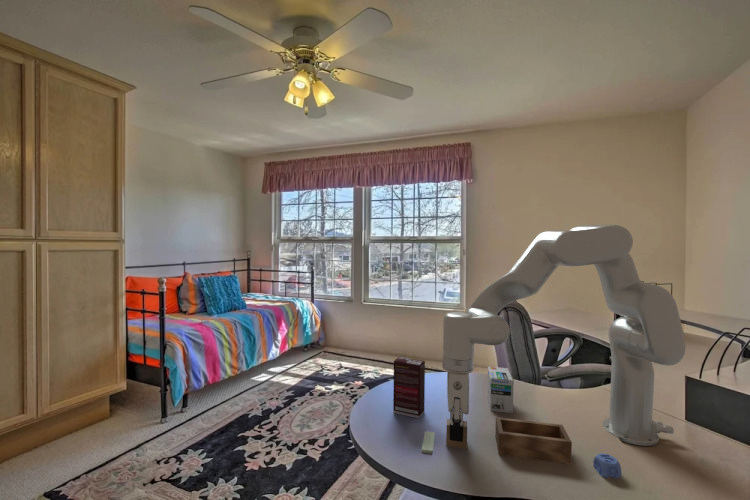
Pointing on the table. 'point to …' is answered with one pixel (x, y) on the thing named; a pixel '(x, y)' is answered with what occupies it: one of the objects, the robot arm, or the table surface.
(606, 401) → the table surface
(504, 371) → the light bulb box
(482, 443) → the table surface
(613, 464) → the decorative dice
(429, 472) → the table surface
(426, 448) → the lid
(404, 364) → the supplement box
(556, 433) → the keepsake box
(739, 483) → the table surface
